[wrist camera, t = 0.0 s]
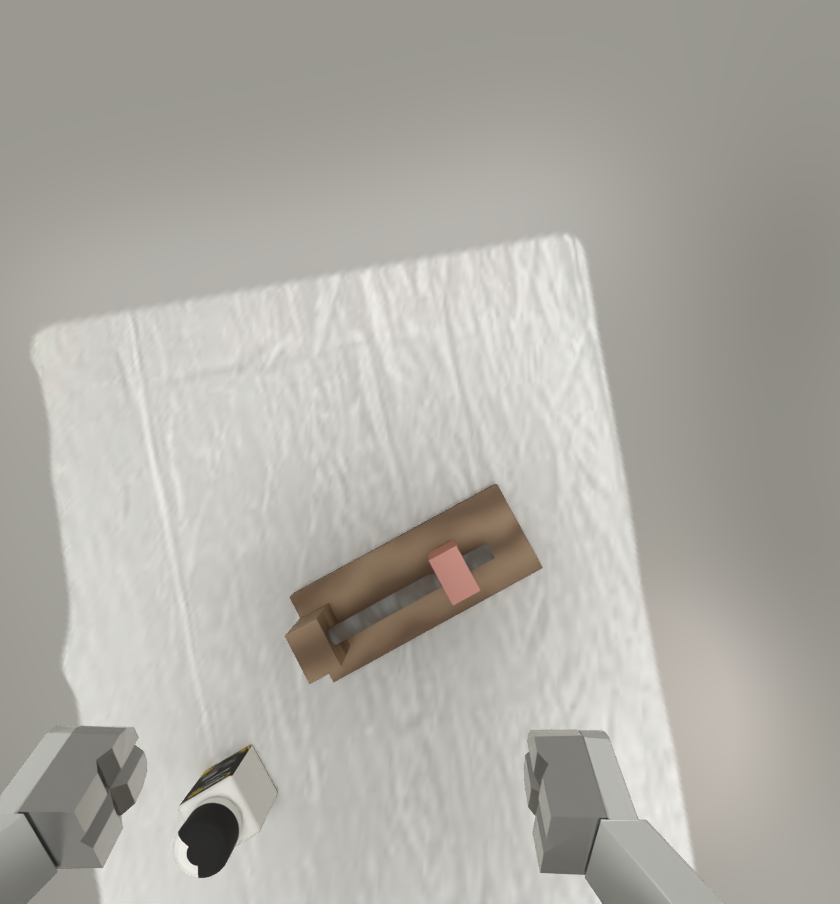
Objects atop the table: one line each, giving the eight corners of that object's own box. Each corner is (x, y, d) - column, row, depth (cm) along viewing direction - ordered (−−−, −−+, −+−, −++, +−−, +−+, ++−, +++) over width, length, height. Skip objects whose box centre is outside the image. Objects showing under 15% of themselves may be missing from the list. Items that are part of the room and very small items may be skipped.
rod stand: (538, 564, 64) (557, 579, 55) (336, 675, 63) (322, 708, 54) (494, 484, 65) (506, 484, 56) (293, 593, 64) (272, 611, 55)
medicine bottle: (252, 742, 63) (212, 804, 51) (279, 792, 63) (244, 866, 51) (203, 771, 63) (152, 840, 51) (230, 821, 62) (184, 902, 51)
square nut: (475, 580, 60) (480, 590, 54) (450, 593, 60) (452, 605, 54) (453, 539, 60) (456, 545, 54) (428, 553, 60) (428, 560, 54)
